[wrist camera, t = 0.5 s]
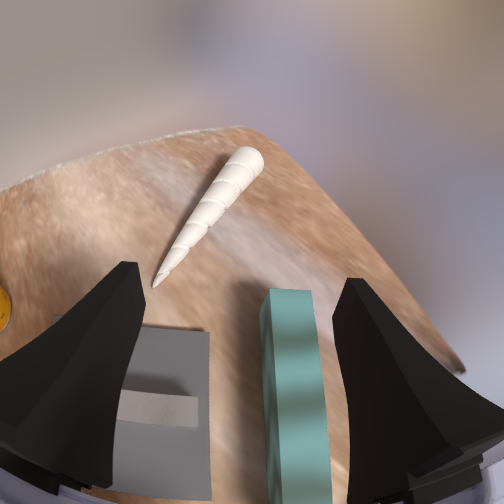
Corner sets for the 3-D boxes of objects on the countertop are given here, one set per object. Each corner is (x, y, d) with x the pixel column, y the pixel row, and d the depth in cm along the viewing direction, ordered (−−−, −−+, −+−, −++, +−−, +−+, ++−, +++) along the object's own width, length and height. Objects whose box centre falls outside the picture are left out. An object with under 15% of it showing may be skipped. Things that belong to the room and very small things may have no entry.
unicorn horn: (126, 272, 31) (119, 246, 27) (234, 164, 45) (239, 139, 41) (159, 295, 30) (156, 270, 26) (261, 177, 44) (268, 152, 41)
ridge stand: (210, 498, 19) (213, 507, 16) (40, 469, 16) (19, 470, 13) (209, 335, 28) (211, 319, 25) (57, 318, 26) (43, 301, 22)
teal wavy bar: (310, 516, 19) (333, 527, 15) (268, 522, 18) (284, 536, 14) (295, 313, 32) (310, 290, 28) (258, 311, 31) (269, 288, 27)
